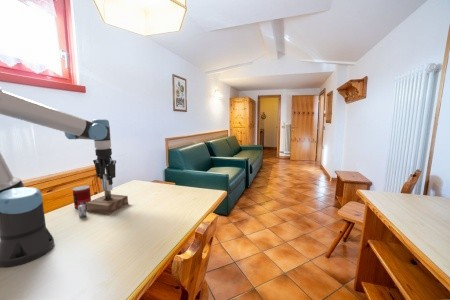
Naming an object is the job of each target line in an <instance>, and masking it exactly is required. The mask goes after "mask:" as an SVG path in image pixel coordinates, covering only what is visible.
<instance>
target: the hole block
mask: <svg viewBox="0 0 450 300" xmlns="http://www.w3.org/2000/svg"><path fill="white" fill-rule="evenodd" d="M128 198H129V197H128V195H123V194H113V193H111V199H105V194H104V195H102V196H99V197H97V198H94V199H93V200H92V199H91V201H90V202H87V203H86V204H87V207H86V213H87V212H88V213H95V214H101V215H105V216H107V215H111V214H113V213H115V212H116V211H118V210H120V209H121V208H123V207H125V206H127V205H129V200H128Z"/></svg>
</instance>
